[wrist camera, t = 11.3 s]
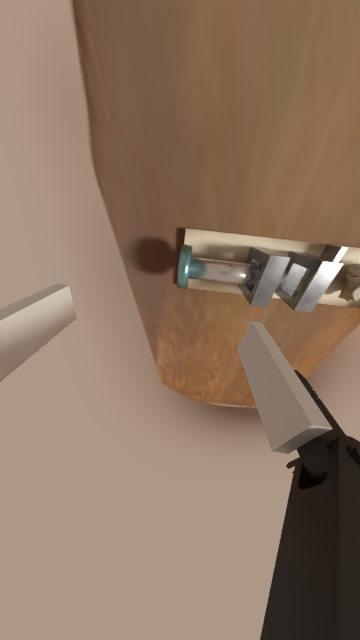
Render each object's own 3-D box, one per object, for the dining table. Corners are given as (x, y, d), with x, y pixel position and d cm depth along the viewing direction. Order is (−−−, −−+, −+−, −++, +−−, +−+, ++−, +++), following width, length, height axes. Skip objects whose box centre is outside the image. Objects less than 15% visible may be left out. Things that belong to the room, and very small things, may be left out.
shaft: (179, 280, 28) (175, 294, 23) (182, 241, 24) (179, 247, 19) (263, 290, 28) (279, 306, 22) (279, 252, 24) (303, 261, 19)
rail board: (186, 228, 26) (185, 228, 24) (401, 252, 25) (412, 254, 24) (180, 284, 31) (180, 286, 30) (357, 305, 31) (364, 308, 29)
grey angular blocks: (251, 235, 25) (275, 241, 18) (401, 252, 25) (494, 266, 17) (233, 290, 31) (247, 313, 23) (357, 305, 31) (412, 333, 23)
